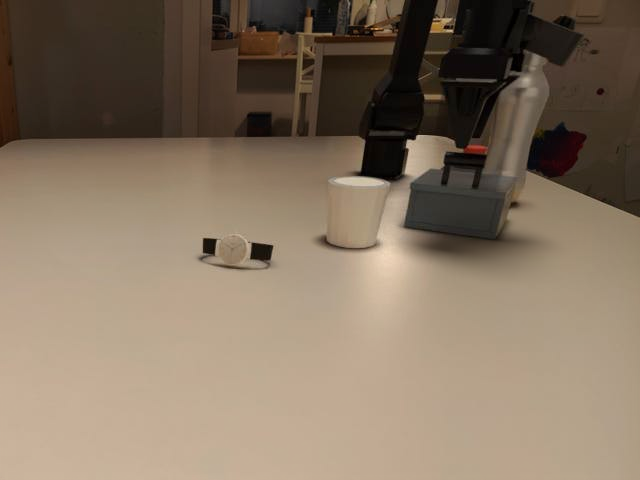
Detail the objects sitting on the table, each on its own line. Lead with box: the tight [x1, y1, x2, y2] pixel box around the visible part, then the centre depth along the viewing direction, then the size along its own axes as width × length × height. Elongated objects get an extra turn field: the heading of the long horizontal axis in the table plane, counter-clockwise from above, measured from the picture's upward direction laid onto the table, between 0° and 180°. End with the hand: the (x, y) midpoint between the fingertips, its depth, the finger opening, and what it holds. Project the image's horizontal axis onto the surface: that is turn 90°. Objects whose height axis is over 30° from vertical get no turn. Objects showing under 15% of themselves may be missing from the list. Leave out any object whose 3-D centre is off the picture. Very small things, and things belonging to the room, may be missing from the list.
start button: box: [462, 144, 488, 154], centre depth 105 cm, size 4×4×2 cm
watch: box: [202, 230, 274, 266], centre depth 66 cm, size 8×5×4 cm, turn 68°
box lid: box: [409, 150, 517, 200], centre depth 76 cm, size 11×11×4 cm
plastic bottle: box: [482, 50, 550, 203], centre depth 85 cm, size 6×7×20 cm
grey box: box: [403, 184, 516, 240], centre depth 79 cm, size 10×11×5 cm
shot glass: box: [326, 175, 391, 249], centre depth 71 cm, size 7×7×7 cm
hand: (468, 143), depth 72 cm, fingers open, 9 cm apart
